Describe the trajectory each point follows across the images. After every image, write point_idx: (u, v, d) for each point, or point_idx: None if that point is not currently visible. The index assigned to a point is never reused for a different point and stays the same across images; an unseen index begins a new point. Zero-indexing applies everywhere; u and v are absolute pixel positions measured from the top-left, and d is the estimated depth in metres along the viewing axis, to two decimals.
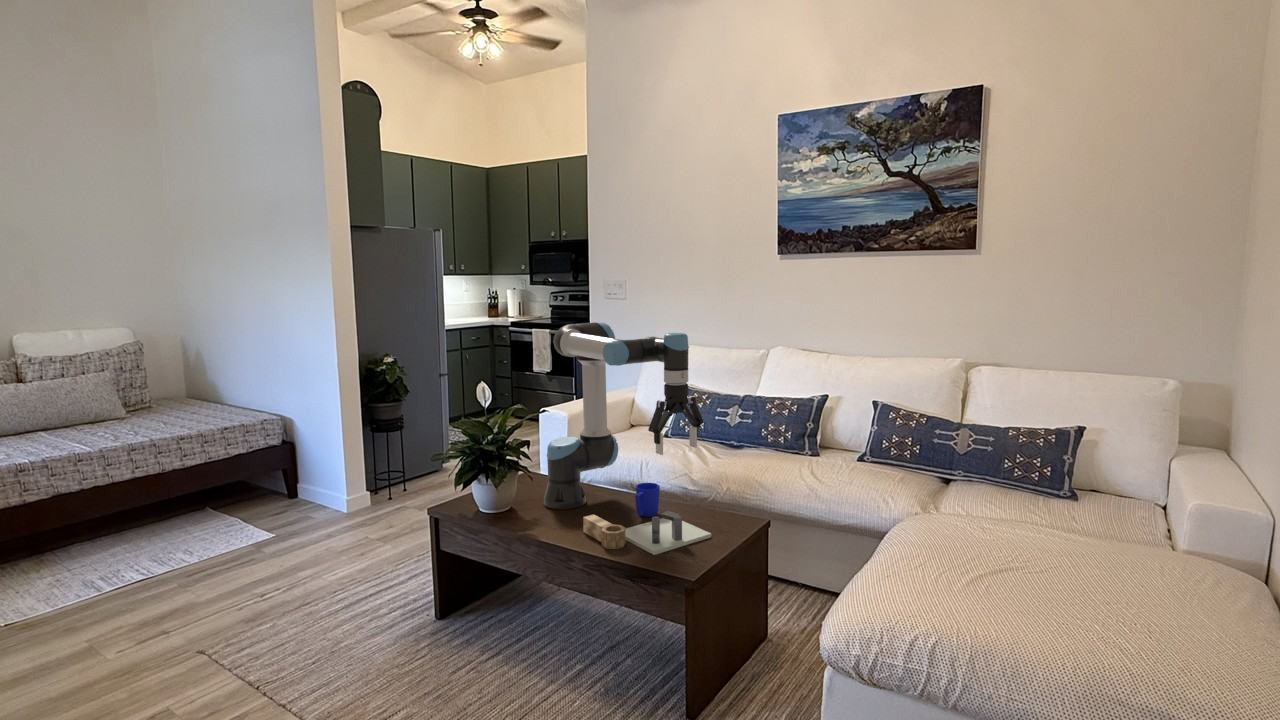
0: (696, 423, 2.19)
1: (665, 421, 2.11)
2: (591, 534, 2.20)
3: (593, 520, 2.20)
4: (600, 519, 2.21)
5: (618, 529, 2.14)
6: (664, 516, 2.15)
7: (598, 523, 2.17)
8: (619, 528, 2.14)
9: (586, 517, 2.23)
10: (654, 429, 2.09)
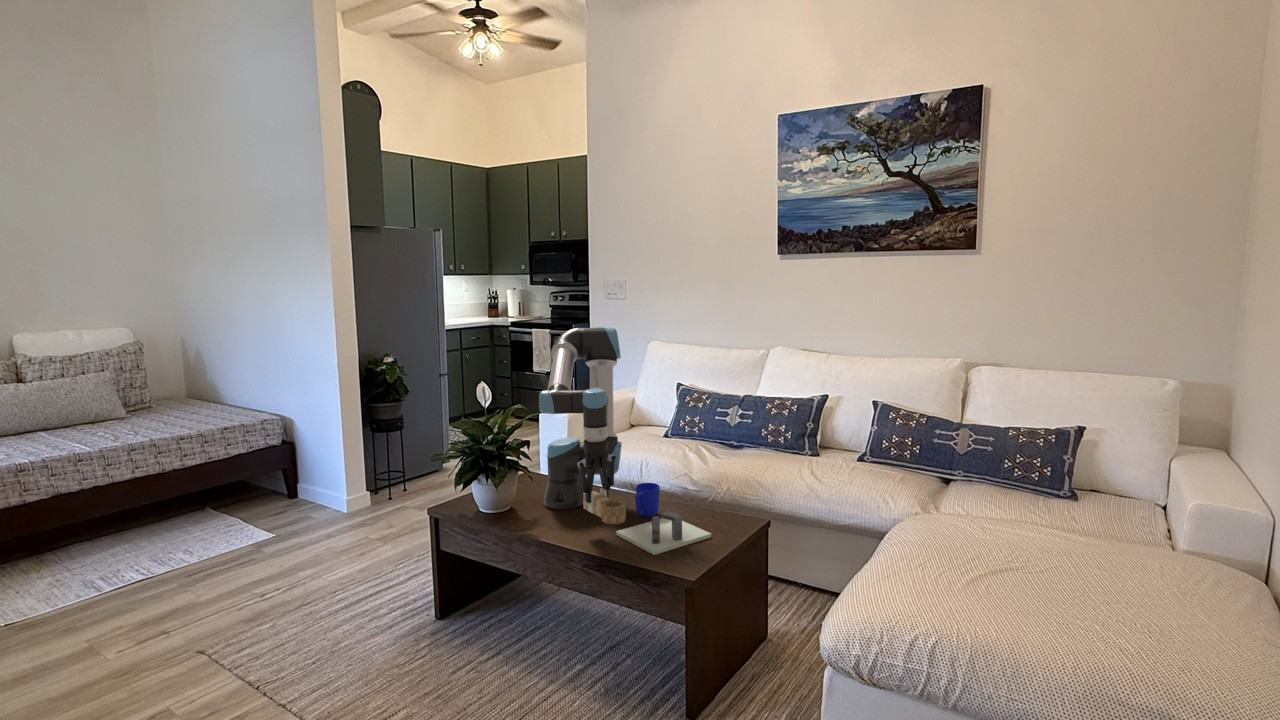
0: (607, 485, 2.19)
1: (591, 479, 2.16)
2: None
3: None
4: (600, 495, 2.20)
5: (618, 505, 2.14)
6: (664, 516, 2.15)
7: (598, 499, 2.16)
8: (619, 504, 2.13)
9: None
10: (584, 490, 2.15)
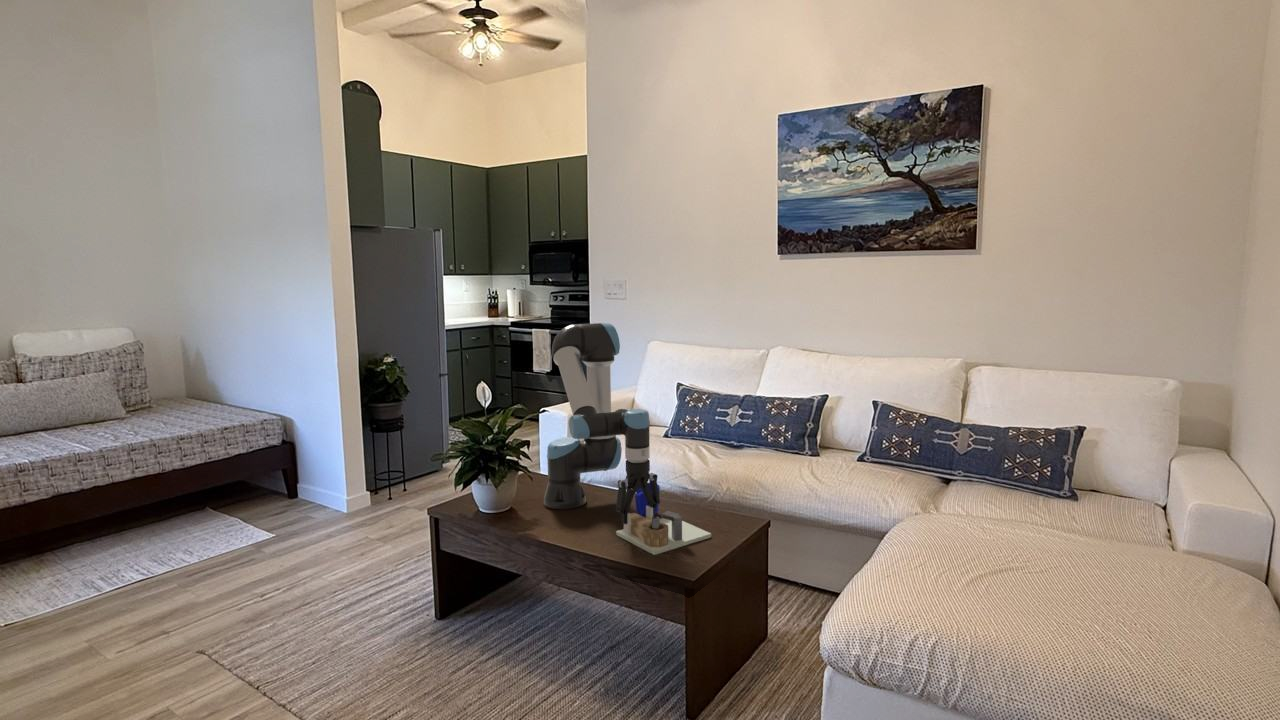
0: (653, 503, 2.19)
1: (630, 500, 2.14)
2: (632, 532, 2.18)
3: (635, 518, 2.18)
4: (641, 517, 2.19)
5: (661, 527, 2.12)
6: (664, 516, 2.15)
7: (640, 521, 2.15)
8: (662, 526, 2.12)
9: None
10: (621, 510, 2.12)
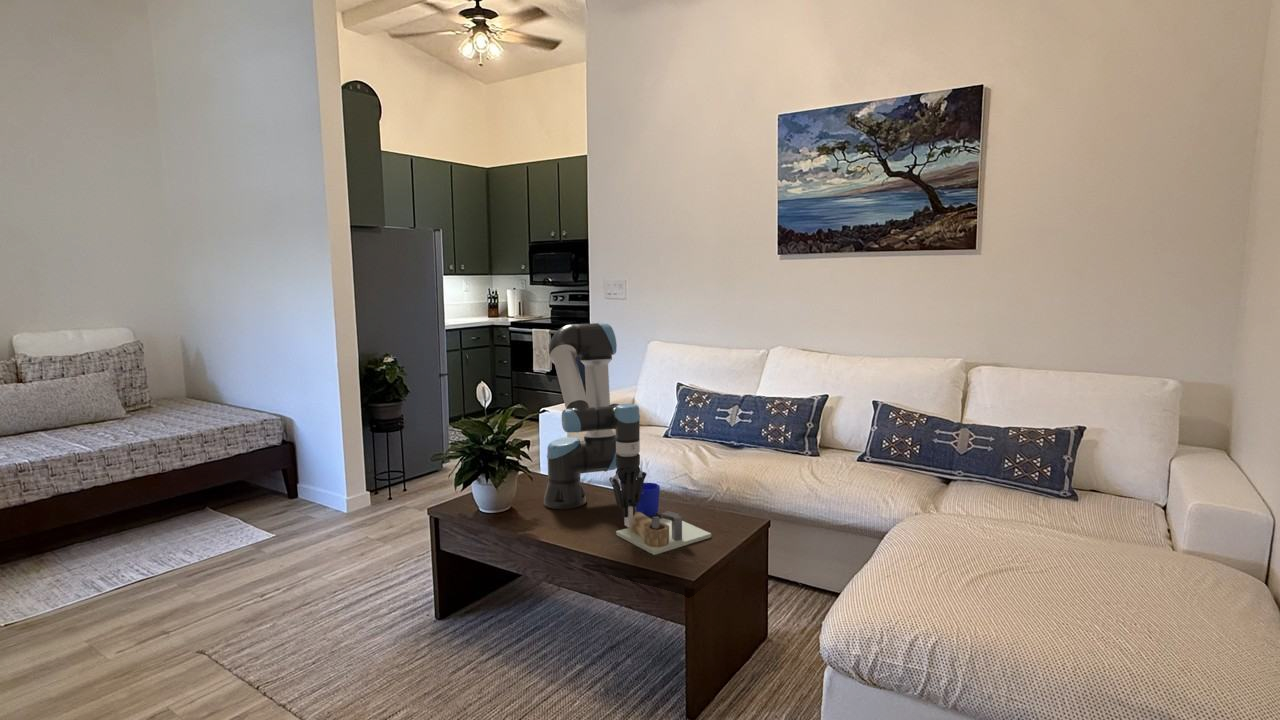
0: (633, 502, 2.19)
1: (627, 494, 2.17)
2: (635, 531, 2.18)
3: (638, 517, 2.19)
4: (645, 516, 2.19)
5: (662, 527, 2.12)
6: (664, 516, 2.15)
7: (642, 520, 2.16)
8: (663, 526, 2.12)
9: None
10: (621, 504, 2.16)
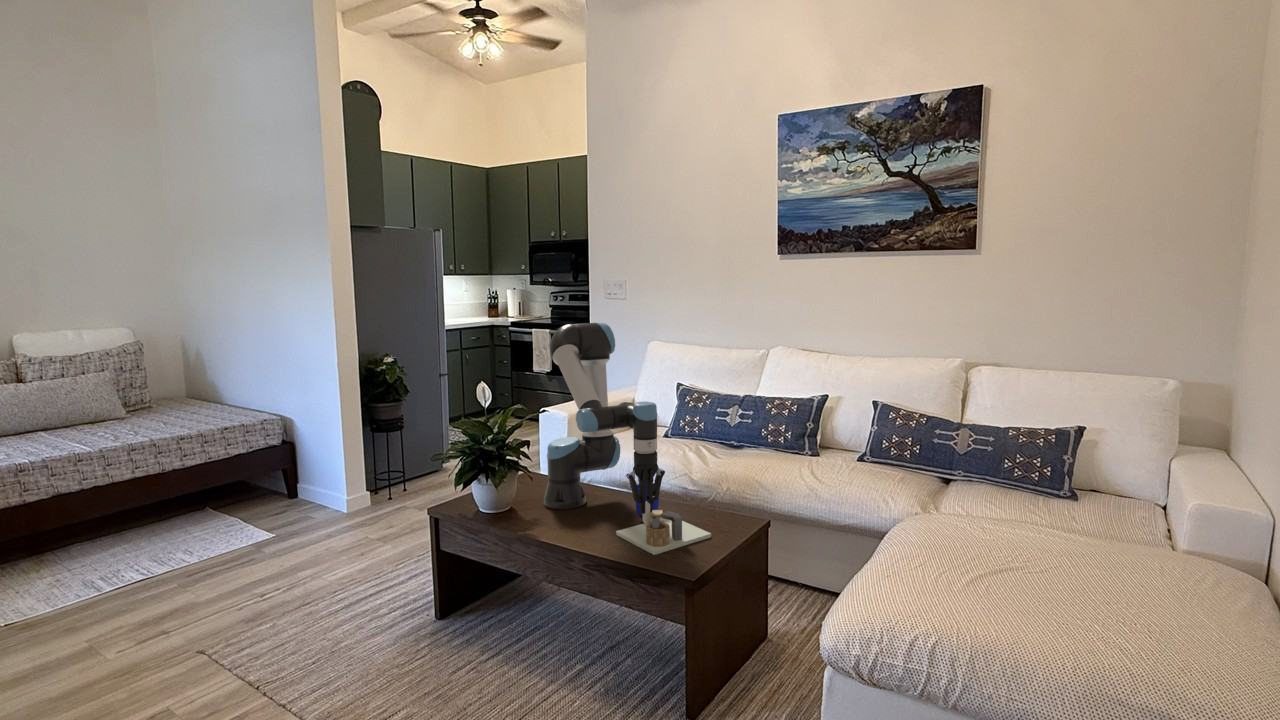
0: (651, 499, 2.22)
1: (643, 490, 2.20)
2: None
3: (653, 515, 2.21)
4: (660, 515, 2.20)
5: (665, 528, 2.12)
6: (664, 516, 2.15)
7: None
8: (665, 527, 2.11)
9: (652, 511, 2.24)
10: (638, 500, 2.20)
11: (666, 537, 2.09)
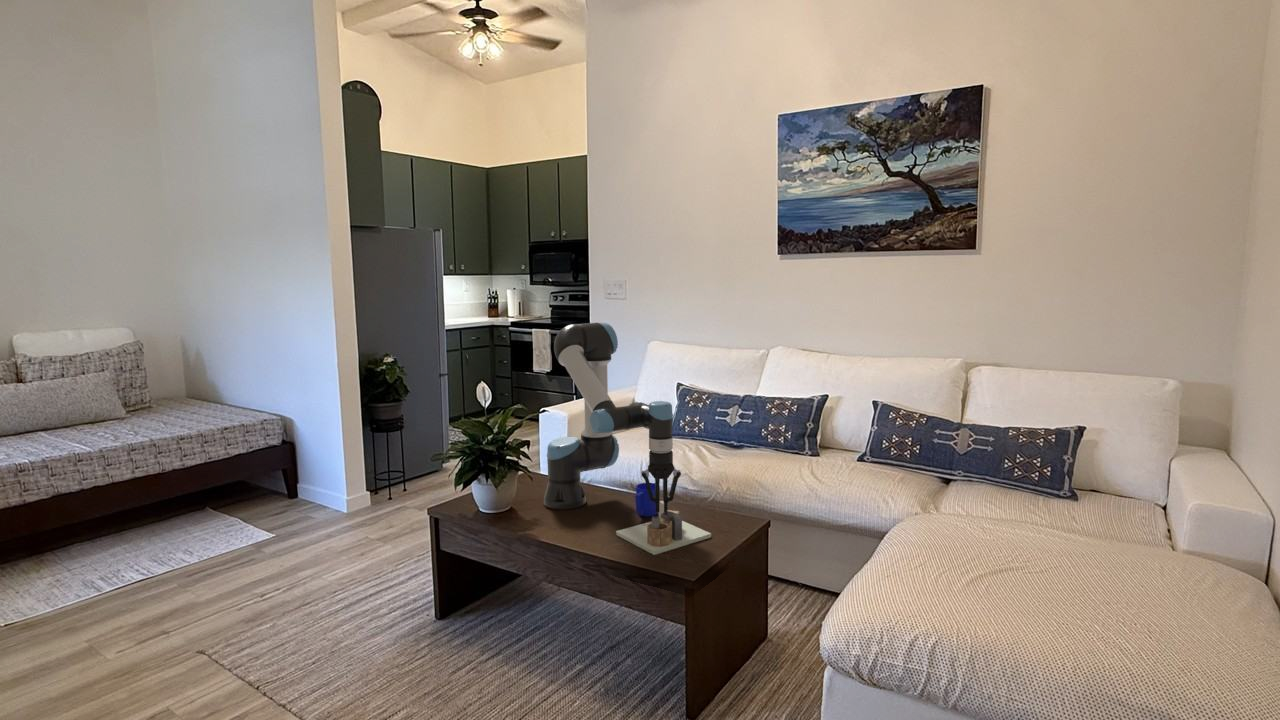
0: (665, 498, 2.22)
1: (657, 489, 2.21)
2: None
3: None
4: None
5: None
6: (664, 516, 2.15)
7: (662, 518, 2.17)
8: None
9: None
10: (651, 498, 2.21)
11: (665, 538, 2.08)
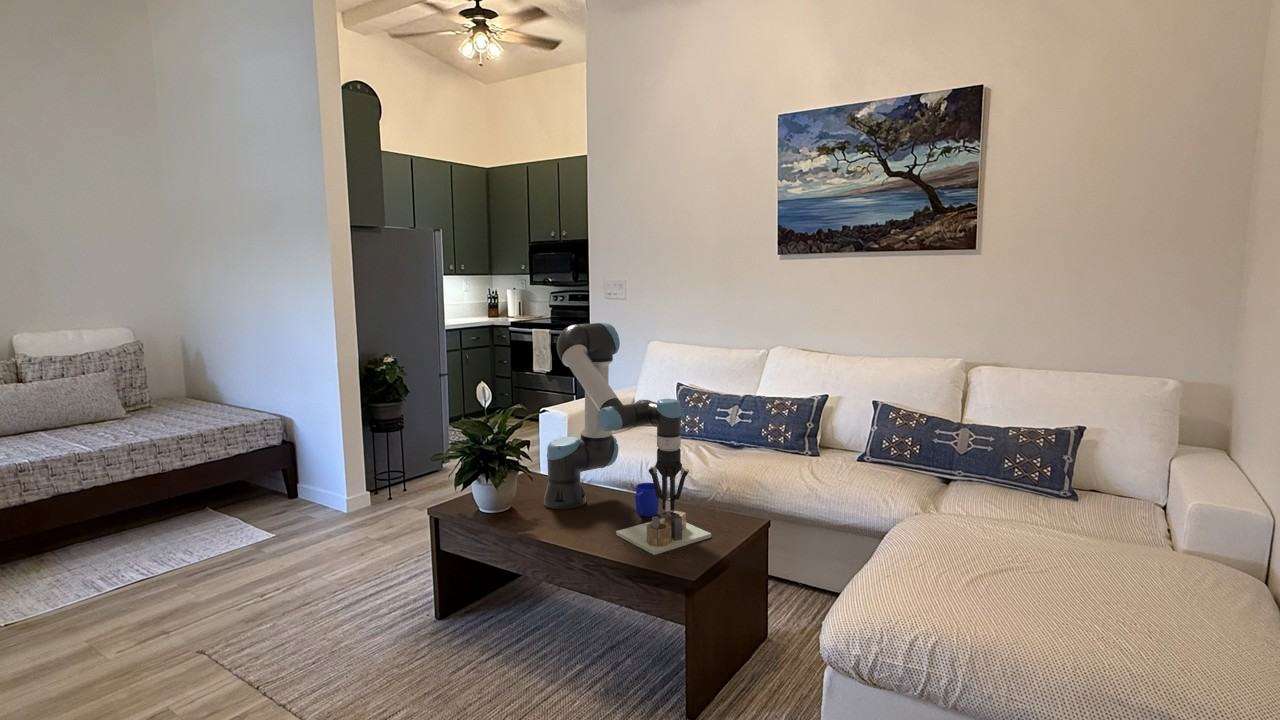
0: (671, 497, 2.21)
1: (663, 487, 2.21)
2: None
3: None
4: None
5: None
6: (664, 516, 2.15)
7: None
8: None
9: (675, 512, 2.23)
10: (657, 495, 2.22)
11: (662, 538, 2.08)
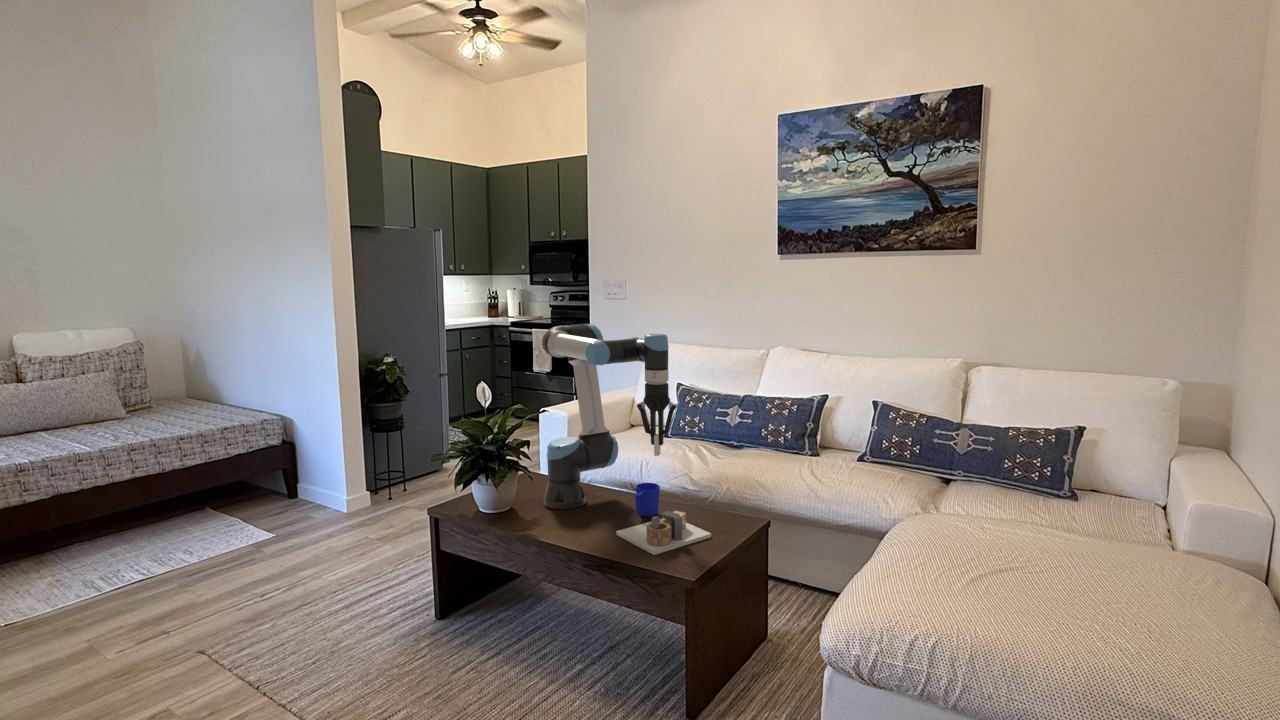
0: (659, 431, 2.21)
1: (652, 422, 2.22)
2: None
3: None
4: None
5: None
6: (664, 516, 2.15)
7: None
8: None
9: (675, 512, 2.23)
10: (645, 430, 2.22)
11: (662, 538, 2.08)
